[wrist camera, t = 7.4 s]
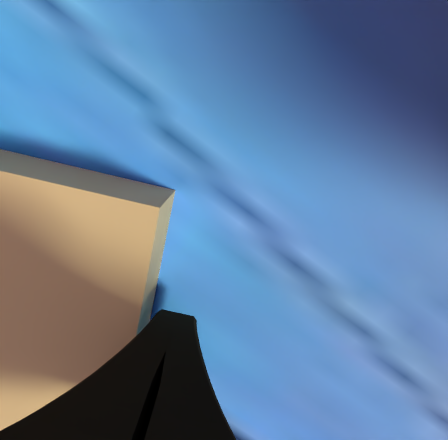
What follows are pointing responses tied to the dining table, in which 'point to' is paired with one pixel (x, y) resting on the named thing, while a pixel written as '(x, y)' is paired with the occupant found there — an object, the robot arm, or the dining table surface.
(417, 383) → the dining table surface
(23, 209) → the tile
